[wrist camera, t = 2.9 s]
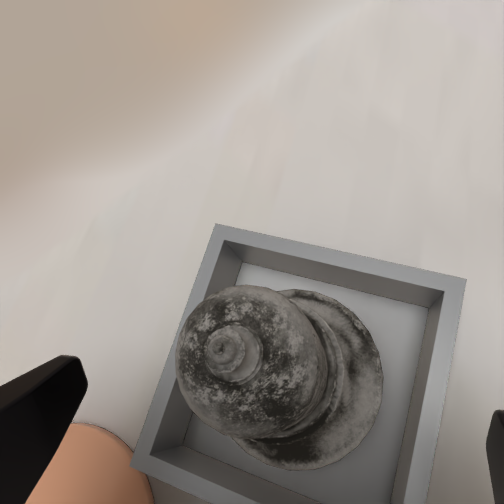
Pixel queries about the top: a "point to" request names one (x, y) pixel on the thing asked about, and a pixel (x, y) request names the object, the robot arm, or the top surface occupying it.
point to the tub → (331, 271)
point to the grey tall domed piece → (281, 374)
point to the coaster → (91, 471)
